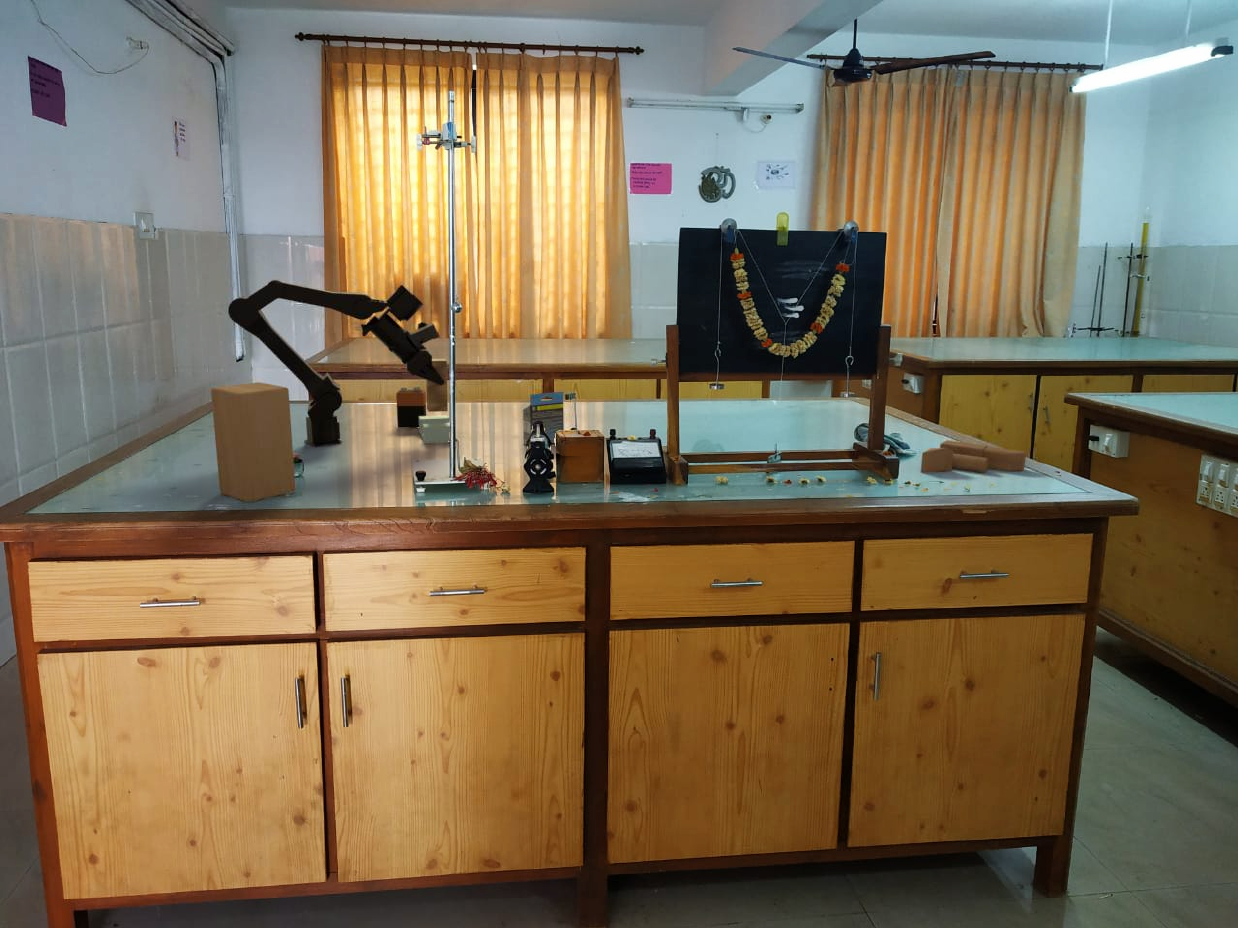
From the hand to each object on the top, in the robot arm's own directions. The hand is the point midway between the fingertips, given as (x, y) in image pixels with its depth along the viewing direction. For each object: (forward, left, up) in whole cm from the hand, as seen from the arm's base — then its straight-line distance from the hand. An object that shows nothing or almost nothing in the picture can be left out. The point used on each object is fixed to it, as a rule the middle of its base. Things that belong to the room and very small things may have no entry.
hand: (442, 382), depth 225 cm
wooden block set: (+70, -98, -14) cm, 121 cm away
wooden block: (-53, -22, -14) cm, 59 cm away
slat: (-1, +1, -7) cm, 7 cm away
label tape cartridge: (+15, -20, -14) cm, 28 cm away
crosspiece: (-1, +1, -13) cm, 13 cm away
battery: (+1, +17, -14) cm, 22 cm away
